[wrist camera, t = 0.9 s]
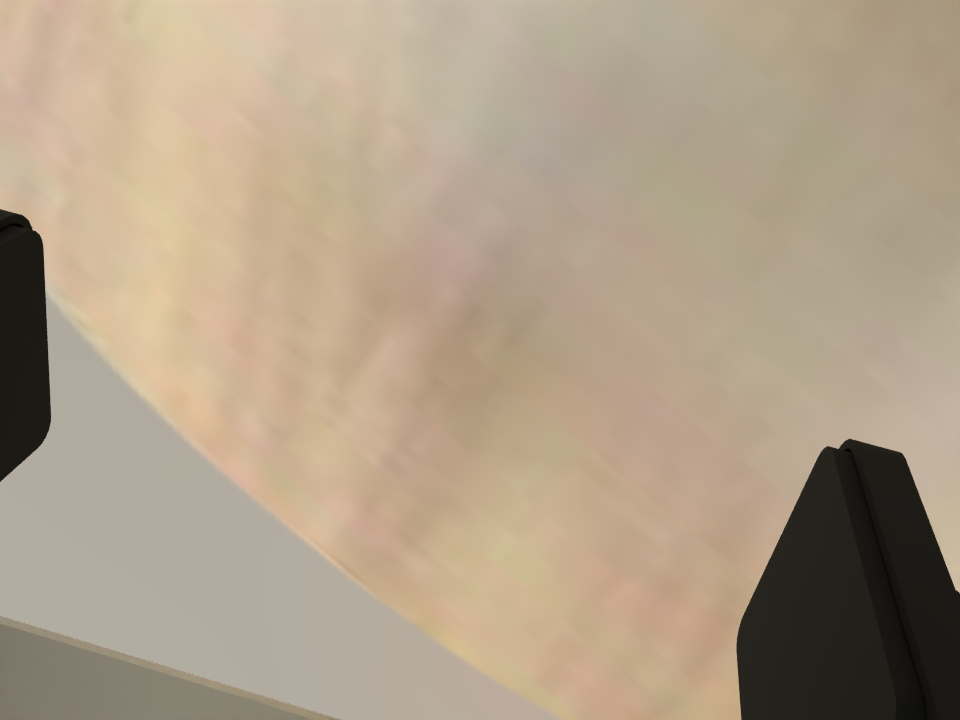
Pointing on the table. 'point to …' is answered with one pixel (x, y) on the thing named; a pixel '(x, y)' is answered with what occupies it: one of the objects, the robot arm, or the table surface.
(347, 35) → the table surface
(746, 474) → the table surface
